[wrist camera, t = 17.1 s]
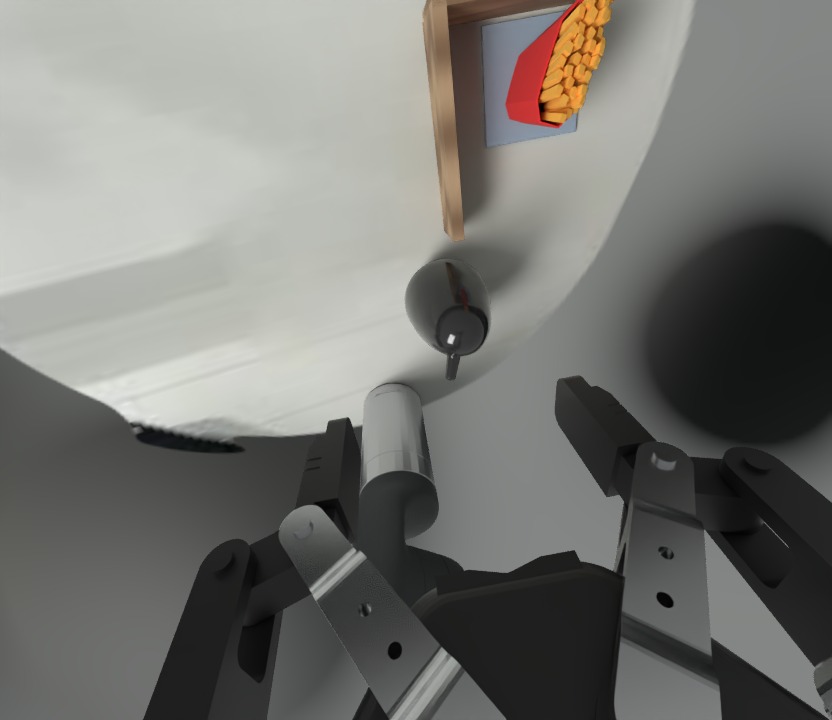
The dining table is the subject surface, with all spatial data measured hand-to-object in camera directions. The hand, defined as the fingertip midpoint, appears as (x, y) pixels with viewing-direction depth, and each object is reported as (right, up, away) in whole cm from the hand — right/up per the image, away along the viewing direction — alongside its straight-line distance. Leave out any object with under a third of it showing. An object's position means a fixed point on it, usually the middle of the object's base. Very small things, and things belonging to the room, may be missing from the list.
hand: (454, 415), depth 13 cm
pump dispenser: (+2, +12, +33) cm, 35 cm away
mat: (+10, +31, +23) cm, 40 cm away
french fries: (+10, +31, +22) cm, 39 cm away
